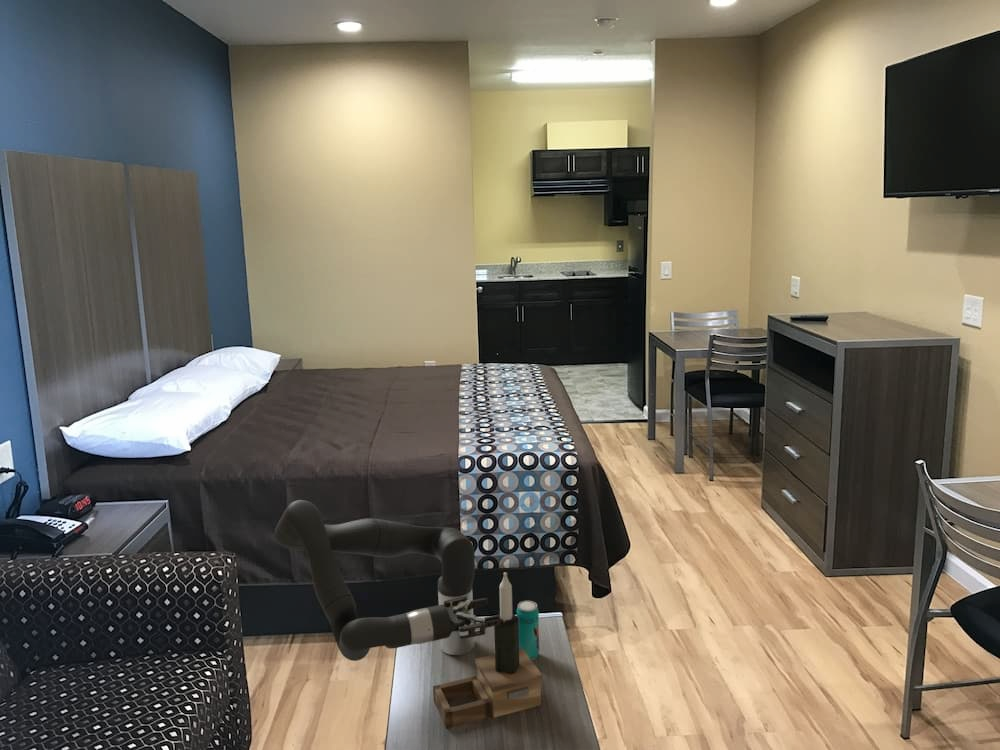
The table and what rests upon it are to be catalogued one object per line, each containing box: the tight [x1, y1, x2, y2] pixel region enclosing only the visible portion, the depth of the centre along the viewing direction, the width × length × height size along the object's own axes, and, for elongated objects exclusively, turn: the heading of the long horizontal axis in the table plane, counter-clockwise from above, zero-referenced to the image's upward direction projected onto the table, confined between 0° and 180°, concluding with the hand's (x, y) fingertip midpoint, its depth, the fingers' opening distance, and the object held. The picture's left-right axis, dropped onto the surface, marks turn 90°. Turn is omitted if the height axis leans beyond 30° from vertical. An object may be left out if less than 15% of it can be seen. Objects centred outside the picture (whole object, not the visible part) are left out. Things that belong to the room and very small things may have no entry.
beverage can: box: [516, 600, 540, 662], centre depth 205 cm, size 6×6×15 cm
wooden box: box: [432, 648, 543, 729], centre depth 187 cm, size 14×24×8 cm, turn 110°
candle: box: [493, 572, 519, 674], centre depth 186 cm, size 5×5×25 cm
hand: (493, 610), depth 184 cm, fingers open, 8 cm apart
